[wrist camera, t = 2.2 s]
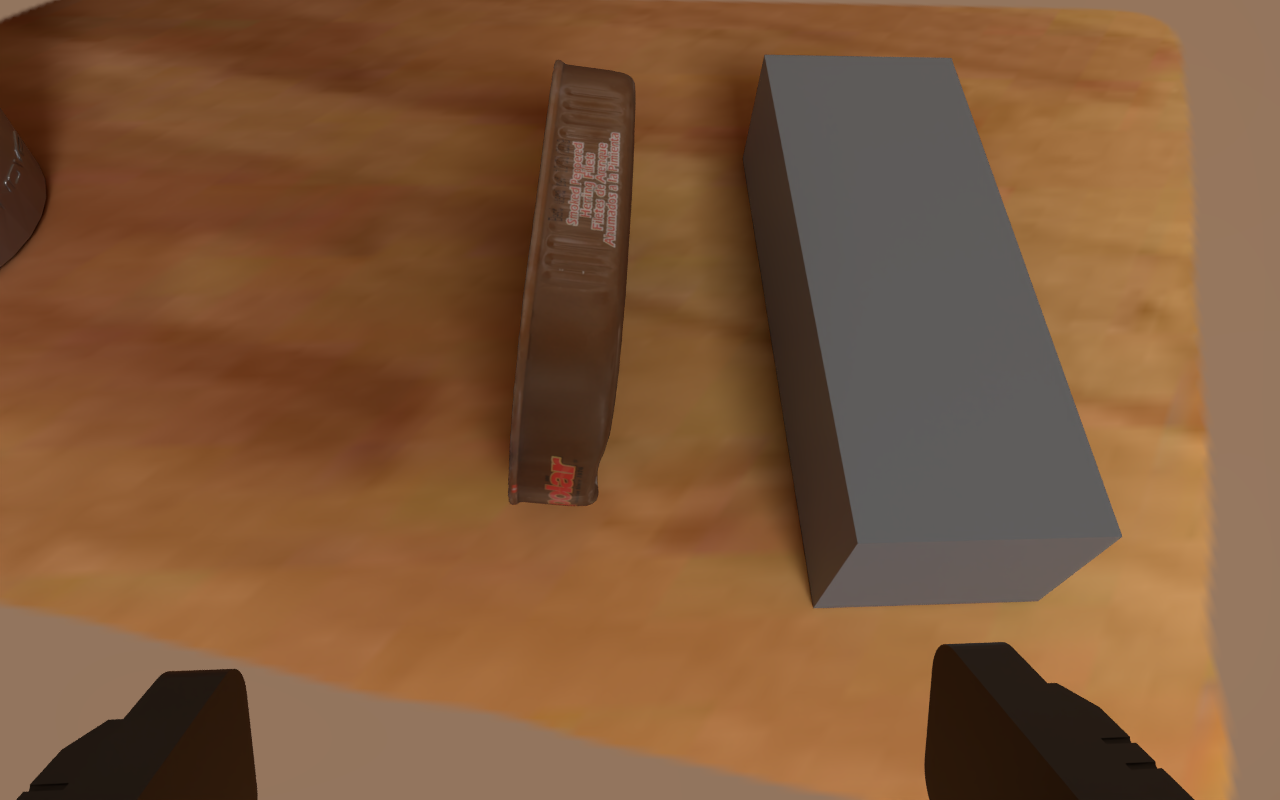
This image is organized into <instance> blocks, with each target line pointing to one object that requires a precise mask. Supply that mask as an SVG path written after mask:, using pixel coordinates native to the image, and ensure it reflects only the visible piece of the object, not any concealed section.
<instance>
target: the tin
mask: <svg viewBox="0 0 1280 800" xmlns="http://www.w3.org/2000/svg"><path fill="white" fill-rule="evenodd" d="M634 127H635V83H634V81H633V79H632V78H631V77H630V76H629V75H627V74H624V73H620V72H615V71H610V70H603V69H596V68H588V67H581V66H574V65H567V64H565V63H564V62H562V61H561V60H556V62H555V64H554V71H553V76H552V83H551V90H550V96H549V105H548V112H547V119H546V128H545V134H544V142H543V151H542V158H541V166H540V174H539V181H538V189H537V197H536V205H535V212H534V219H533V227H532V236H531V243H530V249H529V256H528V264H527V271H526V279H525V286H524V295H523V305H522V315H521V325H520V333H519V343H518V355H517V365H516V376H515V386H514V397H513V408H512V425H511V434H510V456H509V478H508V481H509V482H508V485H509V488H508V497H509V502H510V504H512V505H515V504H518V503H519V502H530V503H541V504H552V505H565V506H587V505H590V504H592V503H594V502H595V501H596V500H597V497H598V483H597V471H598V467H599V463H600V460H601V458H602V456H603V454H604V451H605V448H606V445H607V442H608V439H609V435H610V430H611V425H612V419H613V412H614V405H615V398H616V389H617V381H618V373H619V363H620V351H621V342H622V330H623V318H624V306H625V295H626V280H627V265H628V247H629V234H630V217H631V201H632V181H633V157H634Z"/></svg>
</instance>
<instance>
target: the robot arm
mask: <svg viewBox="0 0 1280 800" xmlns="http://www.w3.org/2000/svg"><path fill="white" fill-rule="evenodd" d="M45 200H46V186H45V178H44V176H43V173H42V171H41V169H40V166H39V164H38V162H37V161H36V159H35V158H34V156H33V155H32V154H31V152H30V151H29V149H28V148H27V146H26V145H25V143H24V142H23V140H22V139H21V137H20V136H19V134H18V133H17V132H16V130H15V129H14V127H13V126H12V124H11V123H10V121H9V120H8V118H7V117H6V115H5V114H4V113H3V111H2V110H1V108H0V267H1V266H2V265H3V264H5V263H6V262H7V261H8V260H9V259H11V258H12V257H13V256H14V255H15V254H16V253H17V252H18V250H19V249H20V248H21V247H22V246H23V245H24V243H25V242H26V241H27V240H28V239H29V238H30V236H31V235H32V233H33V231H34V229H35V227H36V225H37V224H38V222H39V220H40V218H41V216H42V212H43V208H44V204H45ZM925 780H926V786H927V791H928V796H929V800H1194V799H1193V798H1192V797H1191V796H1190V795H1189V794H1188V793H1187V792H1186V791H1185V790H1184V789H1183V788H1182V787H1181V786H1180V785H1179V784H1178V783H1177V782H1176V781H1175V780H1174V779H1173V778H1172V777H1171V776H1170V775H1169V774H1168V773H1166V772H1165V771H1164V770H1163V769H1162V768H1158V769H1157V767H1156V764H1155V761H1154V760H1153V759H1152V758H1151V757H1150V756H1149V755H1148V754H1147V753H1146V752H1145V751H1144V750H1143V749H1142V748H1141V747H1140V746H1139V745H1138V744H1137V743H1131V741H1130V736H1128V735H1127V734H1126V733H1125V732H1124V731H1123V730H1122V729H1121V728H1120V727H1119V726H1118V725H1117V724H1116V723H1115V722H1114V721H1113V720H1112V719H1111V718H1110V717H1109V716H1108V715H1107V714H1106V713H1105V712H1104V711H1103V710H1102V709H1101V708H1100V707H1098V706H1096V705H1095V704H1093V703H1091V702H1089V701H1088V700H1086V699H1084V698H1082V697H1080V696H1079V695H1077V694H1075V693H1073V692H1072V691H1070V690H1068V689H1066V688H1065V687H1063V686H1061V685H1059V684H1058V683H1047V682H1046V681H1045V680H1044V679H1043V678H1042V677H1041V676H1040V675H1039V674H1038V673H1037V672H1036V671H1035V670H1034V669H1033V668H1032V667H1031V666H1030V665H1029V664H1028V663H1027V662H1026V661H1025V660H1024V659H1023V658H1022V657H1021V656H1020V655H1019V654H1018V653H1017V652H1016V651H1015V650H1014V648H1013V647H1011V646H1010V645H1009V644H1007V643H1004V642H993V643H966V644H943V645H941V646H940V647H938V649H937V651H936V653H935V656H934V660H933V667H932V678H931V690H930V702H929V714H928V726H927V738H926V750H925ZM17 800H257V783H256V775H255V765H254V755H253V746H252V737H251V728H250V719H249V709H248V700H247V691H246V685H245V681H244V679H243V676H242V674H241V673H240V671H238V670H237V669H220V670H194V671H168V672H165V673H163V674H162V675H161V676H160V677H159V678H158V679H157V680H156V681H155V682H154V683H153V685H152V686H151V687H150V688H149V689H148V690H147V692H146V693H145V694H144V695H143V696H142V698H141V699H140V700H139V701H138V702H137V703H136V705H135V706H134V707H133V708H132V709H131V711H130V712H129V713H128V714H127V715H126V716H125V718H124V719H116V720H107V721H106V722H104V723H103V724H101V725H100V726H98V727H97V728H95V729H93V730H92V731H90V732H89V733H87V734H86V735H84V736H82V737H81V738H79V739H78V740H76V741H75V742H73V743H72V744H70V745H68V746H67V747H65V748H64V749H62V750H61V751H60V752H59V753H58V754H57V756H56V757H55V758H54V759H53V760H52V761H51V762H50V763H49V764H48V765H47V767H46V768H45V769H44V770H43V771H42V772H41V773H40V774H39V775H38V777H37V778H36V779H35V780H34V781H33V782H32V783H31V784H30V789H29V792H23V793H22V794H21V795H20V796H19V797H18V798H17Z"/></svg>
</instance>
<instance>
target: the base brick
mask: <svg viewBox="0 0 1280 800" xmlns="http://www.w3.org/2000/svg"><path fill="white" fill-rule="evenodd" d="M743 163H744V169H745V175H746V182H747V188H748V194H749V201H750V207H751V214H752V220H753V226H754V233H755V239H756V245H757V252H758V258H759V264H760V271H761V277H762V284H763V290H764V296H765V303H766V309H767V315H768V322H769V328H770V335H771V341H772V347H773V354H774V360H775V366H776V373H777V379H778V385H779V392H780V398H781V405H782V411H783V417H784V424H785V430H786V436H787V443H788V449H789V455H790V462H791V468H792V475H793V481H794V487H795V494H796V500H797V506H798V513H799V519H800V525H801V532H802V538H803V545H804V551H805V557H806V564H807V570H808V576H809V583H810V589H811V596H812V602H813V608H834V607H866V606H898V605H929V604H961V603H993V602H1025V601H1039V600H1040V599H1041V598H1043V597H1044V596H1045V595H1046V594H1048V593H1049V592H1050V591H1052V590H1053V589H1054V588H1056V587H1057V586H1058V585H1060V584H1061V583H1062V582H1064V581H1065V580H1066V579H1067V578H1069V577H1070V576H1071V575H1073V574H1074V573H1075V572H1077V571H1078V570H1079V569H1081V568H1082V567H1083V566H1085V565H1086V564H1087V563H1088V562H1090V561H1091V560H1092V559H1094V558H1095V557H1096V556H1098V555H1099V554H1100V553H1102V552H1103V551H1104V550H1105V549H1107V548H1108V547H1109V546H1111V545H1112V544H1113V543H1115V542H1116V541H1117V540H1119V539H1120V538H1121V537H1122V534H1121V532H1120V529H1119V526H1118V523H1117V521H1116V518H1115V515H1114V512H1113V509H1112V507H1111V504H1110V501H1109V498H1108V495H1107V493H1106V490H1105V487H1104V484H1103V481H1102V479H1101V476H1100V473H1099V470H1098V467H1097V465H1096V462H1095V459H1094V456H1093V453H1092V451H1091V448H1090V445H1089V442H1088V439H1087V437H1086V434H1085V431H1084V428H1083V425H1082V423H1081V420H1080V417H1079V414H1078V411H1077V409H1076V406H1075V403H1074V400H1073V397H1072V395H1071V392H1070V389H1069V386H1068V383H1067V381H1066V378H1065V375H1064V372H1063V369H1062V367H1061V364H1060V361H1059V358H1058V355H1057V353H1056V350H1055V347H1054V344H1053V342H1052V339H1051V336H1050V333H1049V330H1048V328H1047V325H1046V322H1045V319H1044V316H1043V314H1042V311H1041V308H1040V305H1039V302H1038V300H1037V297H1036V294H1035V291H1034V288H1033V286H1032V283H1031V280H1030V277H1029V274H1028V272H1027V269H1026V266H1025V263H1024V260H1023V258H1022V255H1021V252H1020V249H1019V246H1018V244H1017V241H1016V238H1015V235H1014V232H1013V230H1012V227H1011V224H1010V221H1009V218H1008V216H1007V213H1006V210H1005V207H1004V204H1003V202H1002V199H1001V196H1000V193H999V190H998V188H997V185H996V182H995V179H994V176H993V174H992V171H991V168H990V165H989V162H988V160H987V157H986V154H985V151H984V149H983V146H982V143H981V140H980V137H979V135H978V132H977V129H976V126H975V123H974V121H973V118H972V115H971V112H970V109H969V107H968V104H967V101H966V98H965V95H964V93H963V90H962V87H961V84H960V81H959V79H958V76H957V73H956V70H955V67H954V65H953V62H952V59H951V58H917V57H859V56H802V55H764V59H763V64H762V69H761V74H760V79H759V83H758V88H757V93H756V98H755V103H754V107H753V112H752V117H751V122H750V127H749V131H748V136H747V141H746V146H745V151H744V155H743Z"/></svg>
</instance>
